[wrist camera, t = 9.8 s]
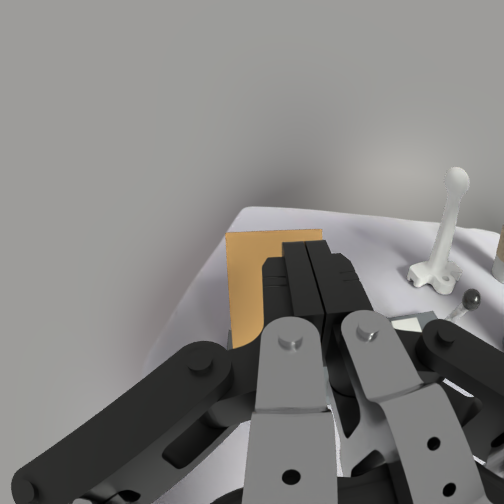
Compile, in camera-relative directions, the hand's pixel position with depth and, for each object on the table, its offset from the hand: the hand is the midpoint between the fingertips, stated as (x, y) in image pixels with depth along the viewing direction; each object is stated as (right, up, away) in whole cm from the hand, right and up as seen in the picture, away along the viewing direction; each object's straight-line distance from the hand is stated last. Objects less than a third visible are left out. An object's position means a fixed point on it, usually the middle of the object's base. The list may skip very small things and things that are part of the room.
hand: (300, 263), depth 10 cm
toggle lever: (+20, -10, +17) cm, 28 cm away
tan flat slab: (+1, -10, +18) cm, 21 cm away
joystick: (+30, -5, +30) cm, 43 cm away
